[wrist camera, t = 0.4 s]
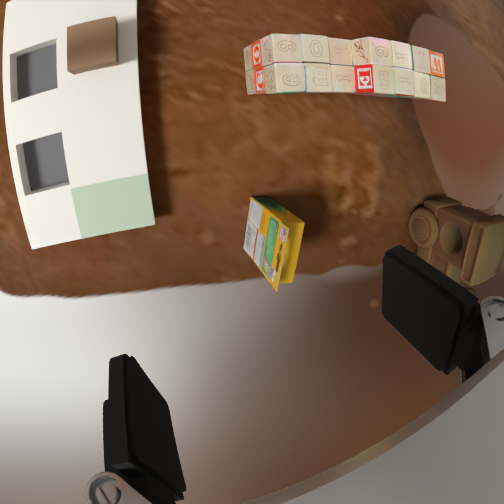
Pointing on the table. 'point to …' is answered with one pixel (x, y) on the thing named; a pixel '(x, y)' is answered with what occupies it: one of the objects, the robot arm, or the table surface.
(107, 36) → the walnut block
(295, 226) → the crayon box
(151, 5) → the table surface
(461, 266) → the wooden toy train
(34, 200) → the trap board
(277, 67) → the stack of blocks
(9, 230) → the table surface
